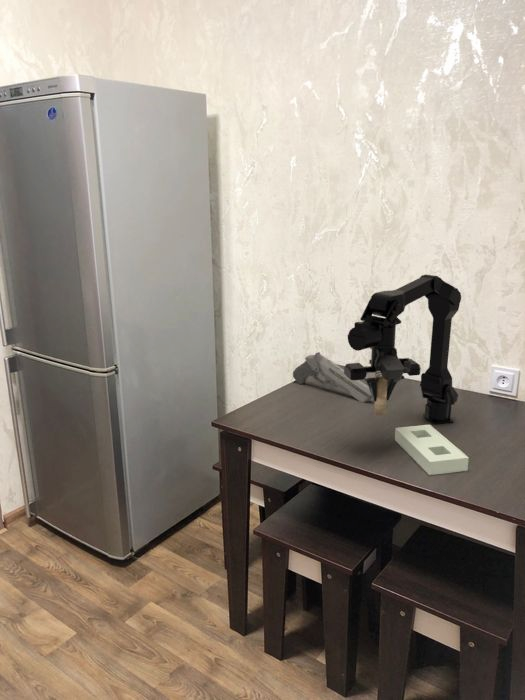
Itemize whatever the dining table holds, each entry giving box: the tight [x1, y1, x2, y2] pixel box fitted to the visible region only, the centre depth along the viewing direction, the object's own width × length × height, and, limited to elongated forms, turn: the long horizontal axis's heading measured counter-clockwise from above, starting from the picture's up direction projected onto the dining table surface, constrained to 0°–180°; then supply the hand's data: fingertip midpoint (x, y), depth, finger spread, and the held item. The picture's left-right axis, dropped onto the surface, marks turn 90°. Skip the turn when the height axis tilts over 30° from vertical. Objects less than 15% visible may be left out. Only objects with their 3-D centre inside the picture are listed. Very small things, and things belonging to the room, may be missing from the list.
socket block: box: [394, 424, 470, 476], centre depth 145 cm, size 20×10×4 cm, turn 11°
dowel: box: [373, 374, 388, 416], centre depth 146 cm, size 3×3×10 cm
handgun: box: [292, 351, 373, 403], centre depth 189 cm, size 31×3×15 cm, turn 48°
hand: (380, 400), depth 147 cm, fingers closed on dowel, 3 cm apart
